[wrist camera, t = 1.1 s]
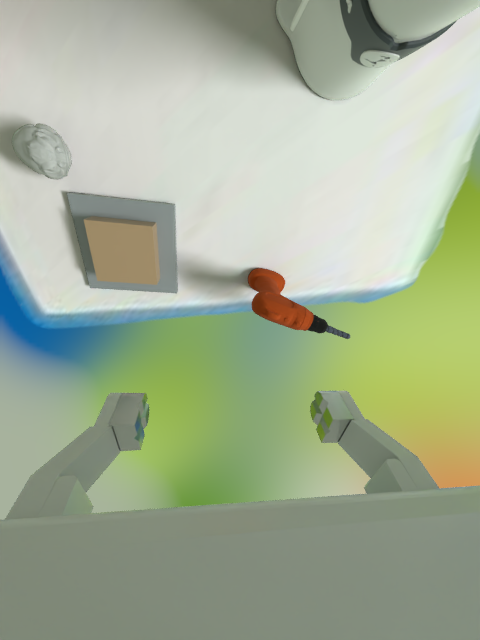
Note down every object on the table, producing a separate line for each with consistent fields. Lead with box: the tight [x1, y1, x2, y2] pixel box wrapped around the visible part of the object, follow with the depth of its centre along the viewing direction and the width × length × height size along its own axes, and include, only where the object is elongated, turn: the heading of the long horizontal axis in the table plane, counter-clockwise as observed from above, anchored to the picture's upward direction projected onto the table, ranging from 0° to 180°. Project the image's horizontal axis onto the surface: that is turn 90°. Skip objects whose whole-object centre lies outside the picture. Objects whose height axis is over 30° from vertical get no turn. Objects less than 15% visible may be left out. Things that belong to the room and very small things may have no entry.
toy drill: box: [248, 268, 350, 339], centre depth 43 cm, size 5×19×15 cm, turn 68°
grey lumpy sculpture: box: [12, 124, 72, 179], centre depth 32 cm, size 6×7×7 cm
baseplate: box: [67, 192, 177, 293], centre depth 41 cm, size 16×16×4 cm
